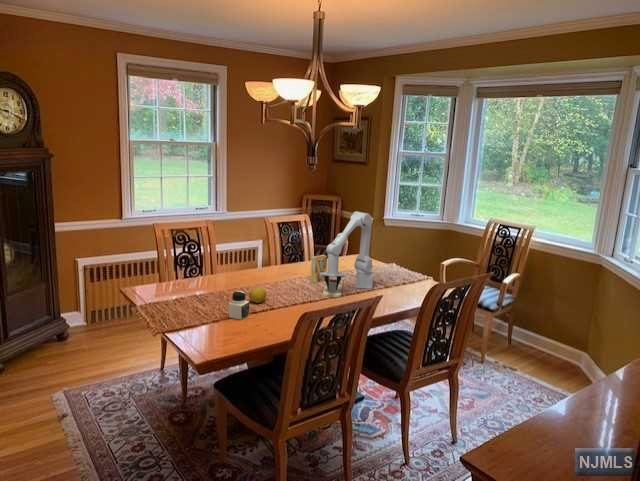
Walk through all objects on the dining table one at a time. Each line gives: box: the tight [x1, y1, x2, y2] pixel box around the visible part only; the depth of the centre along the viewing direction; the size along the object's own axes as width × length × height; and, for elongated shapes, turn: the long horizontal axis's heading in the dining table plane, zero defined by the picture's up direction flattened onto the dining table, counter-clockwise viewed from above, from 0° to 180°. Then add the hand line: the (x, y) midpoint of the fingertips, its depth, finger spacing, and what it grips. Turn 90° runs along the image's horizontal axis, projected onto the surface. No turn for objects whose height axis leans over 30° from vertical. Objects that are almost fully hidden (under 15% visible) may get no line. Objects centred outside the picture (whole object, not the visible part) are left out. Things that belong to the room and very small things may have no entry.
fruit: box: [248, 286, 267, 304], centre depth 251 cm, size 9×8×8 cm
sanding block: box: [328, 278, 337, 294], centre depth 267 cm, size 4×7×6 cm, turn 177°
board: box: [322, 283, 343, 298], centre depth 272 cm, size 10×19×1 cm, turn 176°
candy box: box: [310, 254, 328, 284], centre depth 289 cm, size 9×4×15 cm, turn 129°
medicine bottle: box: [228, 290, 250, 321], centre depth 231 cm, size 7×7×12 cm
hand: (332, 289), depth 267 cm, fingers closed on sanding block, 4 cm apart
